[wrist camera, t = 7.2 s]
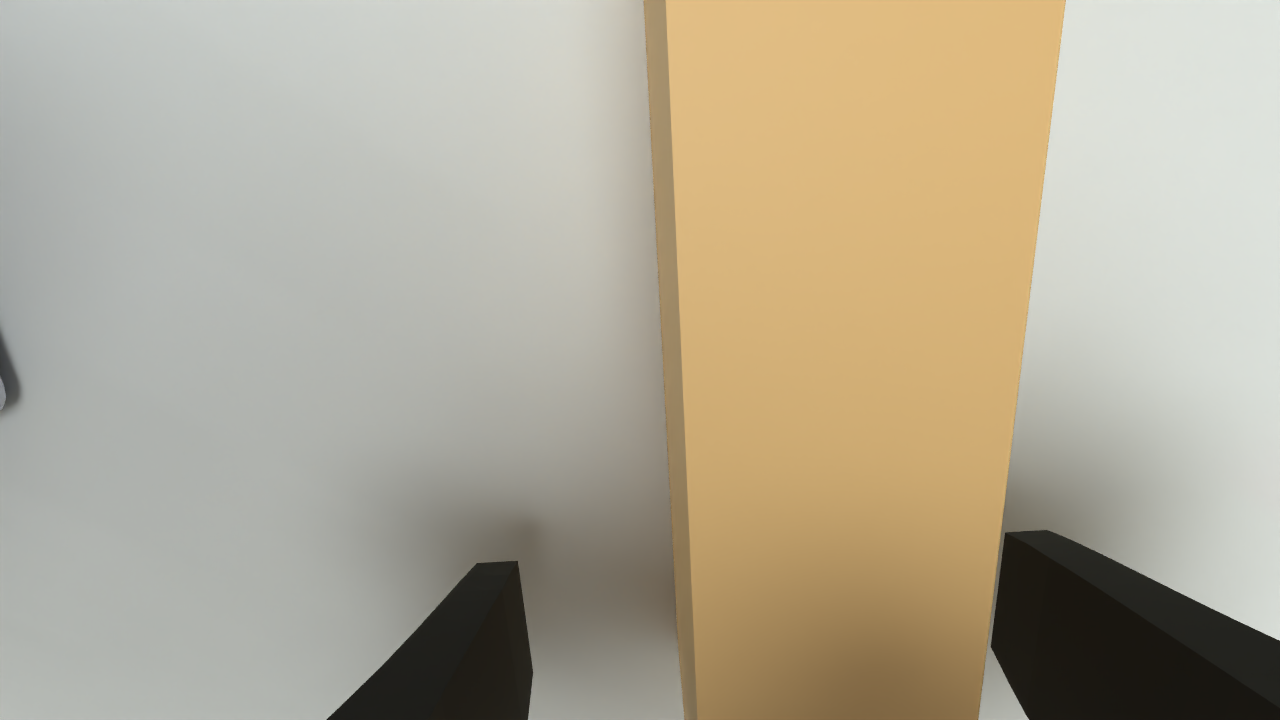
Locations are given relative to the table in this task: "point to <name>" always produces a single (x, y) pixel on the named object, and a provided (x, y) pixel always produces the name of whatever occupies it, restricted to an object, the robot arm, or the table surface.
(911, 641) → the tan rectangular block
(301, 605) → the table surface
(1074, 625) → the robot arm
